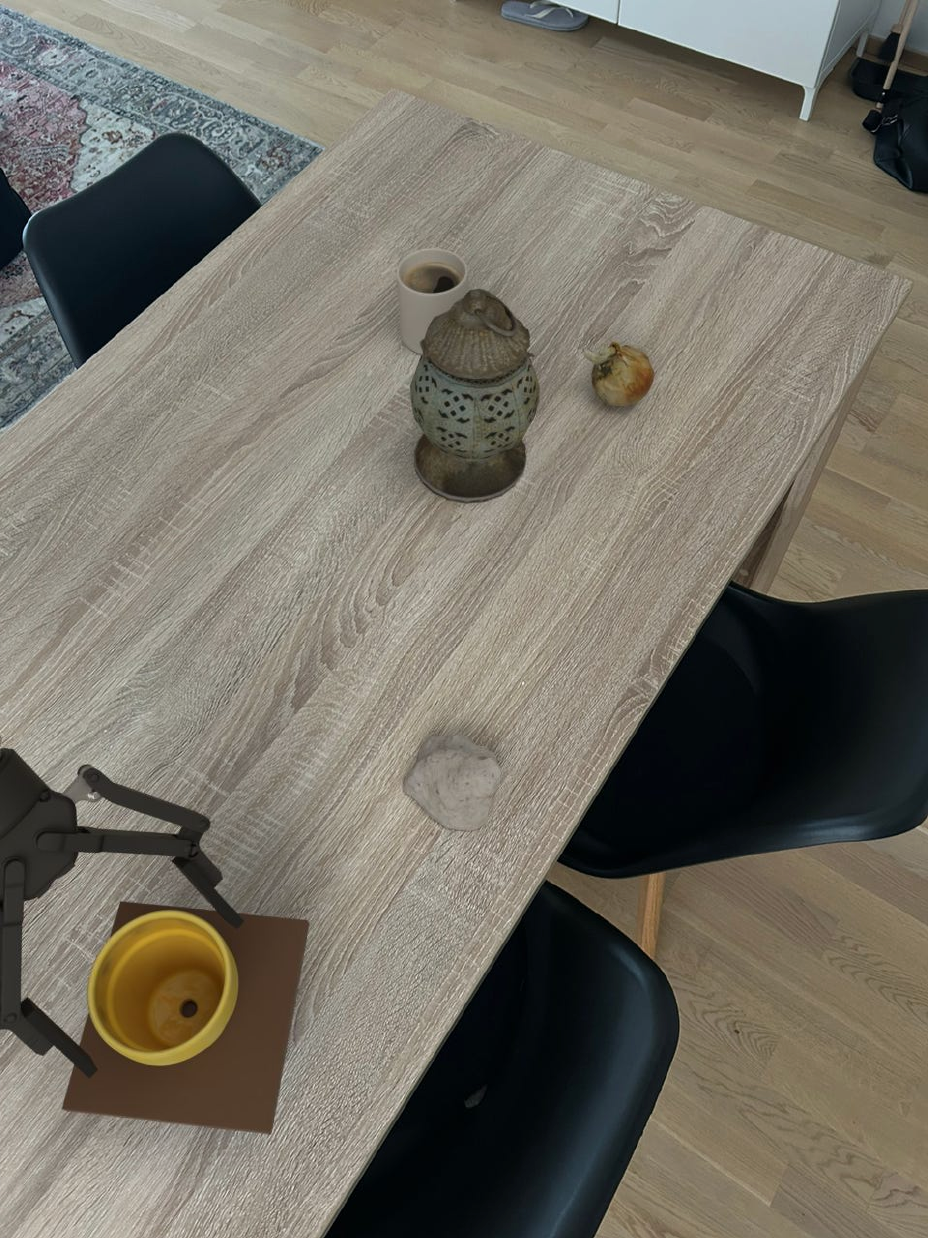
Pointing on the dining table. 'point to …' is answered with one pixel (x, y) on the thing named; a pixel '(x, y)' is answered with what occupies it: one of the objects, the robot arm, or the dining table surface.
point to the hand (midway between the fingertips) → (164, 991)
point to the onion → (620, 374)
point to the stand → (232, 1065)
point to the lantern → (473, 400)
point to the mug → (427, 290)
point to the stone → (454, 781)
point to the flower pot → (162, 987)
